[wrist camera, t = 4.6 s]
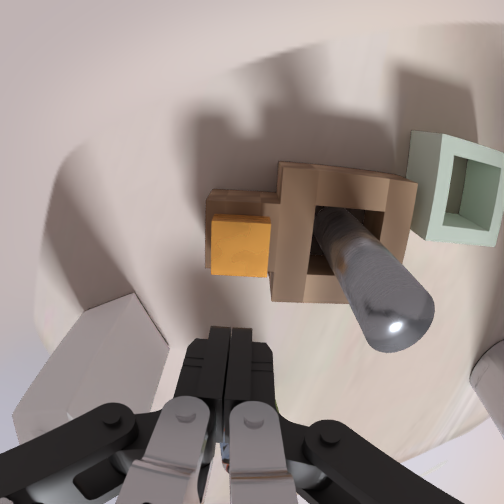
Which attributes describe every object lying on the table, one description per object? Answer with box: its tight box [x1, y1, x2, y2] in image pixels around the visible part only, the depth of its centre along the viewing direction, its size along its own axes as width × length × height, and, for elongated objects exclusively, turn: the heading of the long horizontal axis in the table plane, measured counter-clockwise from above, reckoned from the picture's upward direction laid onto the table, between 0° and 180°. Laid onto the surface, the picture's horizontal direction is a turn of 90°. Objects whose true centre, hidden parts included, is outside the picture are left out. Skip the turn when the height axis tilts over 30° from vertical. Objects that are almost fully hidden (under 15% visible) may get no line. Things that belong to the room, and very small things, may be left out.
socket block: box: [205, 161, 418, 304], centre depth 24 cm, size 15×10×4 cm, turn 87°
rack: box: [406, 130, 504, 247], centre depth 22 cm, size 8×8×5 cm
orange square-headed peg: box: [211, 214, 271, 277], centre depth 22 cm, size 4×4×6 cm
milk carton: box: [12, 293, 170, 445], centre depth 21 cm, size 7×7×19 cm
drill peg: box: [313, 206, 435, 353], centre depth 19 cm, size 4×4×14 cm
